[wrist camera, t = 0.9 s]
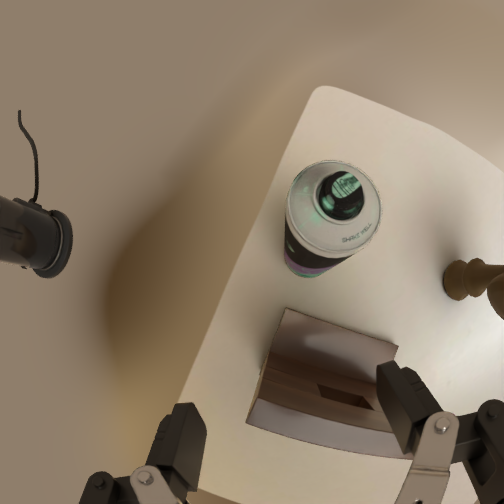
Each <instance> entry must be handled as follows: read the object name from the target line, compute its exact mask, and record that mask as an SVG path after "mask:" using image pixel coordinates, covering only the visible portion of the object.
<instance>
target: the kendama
mask: <svg viewBox="0 0 504 504" xmlns="http://www.w3.org/2000/svg"><path fill="white" fill-rule="evenodd" d="M444 286H445V289H446V291H447V293H448V295H449V296H450V297H451V298H452V299H454V300H457V301H460V300H462V299H464V298H465V297H466V296H467V295H468V294H469V295H470V296H473V297H478V296H480V295H481V294H482V293H483V292H484V291H485V290H486V288H487V296H488V298H489V301H490V303H491V306H492V307H493V309H494V310H495V311H496V313H497V314H498V315H499V316H500V317H501V318H502V319H503V320H504V265H488V264H485V263H484V262H483V261H482V260H481V259H479V258H475V259H472V260H471V261H470V262H469V263H468V264H467V263H466V262H464V261H462V260H457V261H454V262H452V263H451V264H450V265H449V266H448V268H447V270H446V272H445V276H444Z"/></svg>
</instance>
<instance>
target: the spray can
mask: <svg viewBox="0 0 504 504" xmlns="http://www.w3.org/2000/svg"><path fill="white" fill-rule="evenodd" d="M381 218H382V202H381V198H380V194H379V192H378V190H377V188H376V186H375V184H374V183H373V181H372V180H371V179H370V178H369V177H368V176H367V175H366V174H365V173H364V172H363V171H361V170H360V169H359V168H357V167H355V166H353V165H351V164H349V163H346V162H342V161H336V160H326V161H320V162H317V163H314V164H312V165H310V166H308V167H306V168H305V169H304V170H302V171H301V172H300V173H299V174H298V175H297V177H296V178H295V179H294V181H293V183H292V185H291V187H290V189H289V191H288V195H287V198H286V208H285V247H284V256H285V261H286V263H287V265H288V267H289V268H290V270H291V271H292V272H294V273H295V274H296V275H298V276H301V277H304V278H312V277H316V276H319V275H321V274H322V273H324V272H326V271H327V270H329V269H331V268H332V267H334V266H336V265H337V264H339V263H341V262H342V261H344V260H345V259H347V258H349V257H350V256H352V255H353V254H355V253H357V252H358V251H360V250H361V249H363V248H364V247H365V246H366V245H367V244H368V243H369V242H370V241H371V240H372V238H373V237H374V235H375V234H376V232H377V231H378V228H379V226H380V223H381Z"/></svg>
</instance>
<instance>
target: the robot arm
mask: <svg viewBox="0 0 504 504" xmlns="http://www.w3.org/2000/svg"><path fill="white" fill-rule="evenodd" d="M18 122H19V127H20V129H21V130H22V132H23V133H24V135H25V136H26V138H27V139H28V140H29V142H30V144H31V147H32V150H33V155H34V168H35V191H34V196H33V198H31V199H30V200H29V202H26V201H23V200H21V199H19V198H14V199H13V200H9V199H7V198H5V197H2V196H0V262H3V263H8V264H13V265H19V266H21V267H22V268H24V269H27V268H26V267H30V268H36V269H39V270H44V271H46V270H49V269H51V268H52V267H53V266H54V265H55V264H56V263H57V261H58V260H59V258H60V255H61V253H62V249H63V244H64V231H63V227H62V224H61V222H60V221H59V220H58V219H57V218H56V217H54V216H53V213H52V212H50V211H47V210H44V209H42V206H41V205H39V204H37V203H35V202H36V201H37V198H38V192H39V170H38V155H37V150H36V146H35V144H34V141H33V139H32V138H31V137H30V135H29V134H28V132H27V131H26V129H25V128H24V127H23V125H22V122H21V110H19V111H18ZM376 394H377V398H378V401H379V403H380V405H381V408H382V410H383V412H384V414H385V416H386V418H387V420H388V422H389V424H390V426H391V429H392V431H393V433H394V435H395V437H396V439H397V442H398V444H399V446H400V448H401V450H402V453H403V455H406V454H408V453H410V452H412V455H413V457H414V459H413V462H412V464H411V467H410V469H409V472H408V474H407V477H406V479H405V481H404V484H403V486H402V488H401V491H400V493H399V495H398V497H397V499H396V501H395V503H394V504H441V502H442V499H443V496H444V493H445V490H446V487H447V484H448V481H449V477H450V471H449V468H450V464H453V463H457V462H461V461H462V463H463V465H464V467H465V469H466V471H467V473H468V476H469V478H470V480H471V482H472V485H473V487H474V489H475V492H476V494H477V496H478V499H479V501H480V504H504V403H503V402H502V401H500V400H496V399H492V400H488V401H486V402H484V403H483V404H482V405H481V406H480V408H479V410H478V412H475V413H471V414H467V415H462V416H455V415H454V414H453V413H450V412H446V411H443V409H442V408H441V407H440V405H439V404H438V402H437V401H436V400H435V398H434V397H433V395H432V394H431V392H430V391H429V390H428V388H427V387H426V385H425V384H424V382H423V381H421V378H420V377H419V376H418V374H417V373H416V372H415V371H413V370H412V369H410V368H408V367H404V368H402V369H400V368H399V366H398V365H397V363H396V362H395V361H394V360H391V361H388V362H385V363H382V364H379V365H377V367H376ZM206 436H207V430H206V425H205V423H204V421H203V419H202V418H201V416H200V414H199V412H198V410H197V408H196V407H195V405H194V404H193V403H192V402H191V403H177V404H175V406H174V408H173V411H172V414H170V415H166V416H165V418H164V419H163V420H162V421H161V422H160V424H159V427H158V430H157V433H156V436H155V440H154V441H153V444H152V447H151V450H150V453H149V455H148V458H147V461H146V464H145V466H141V467H139V468H137V469H136V470H135V471H134V472H133V473H132V475H131V476H126V477H119V478H113V477H112V476H111V475H110V474H109V473H107V472H103V471H101V472H96V473H94V474H93V475H91V476H90V477H89V479H88V481H87V483H86V486H85V489H84V491H83V494H82V496H81V499H80V502H79V504H191V503H190V501H189V500H188V499H187V498H186V497H187V492H188V491H193V492H197V487H198V481H199V476H200V470H201V464H202V459H203V453H204V447H205V442H206Z"/></svg>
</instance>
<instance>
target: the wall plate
mask: <svg viewBox="0 0 504 504" xmlns="http://www.w3.org/2000/svg"><path fill="white" fill-rule="evenodd" d="M398 347H399V346H397V345H395V344H392V343H389V342H386V341H382V340H379V339H376V338H373V337H370V336H367V335H364V334H361V333H358V332H355V331H352V330H349V329H346V328H343V327H340V326H337V325H334V324H331V323H328V322H325V321H322V320H320V319H317V318H314V317H311V316H308V315H305V314H303V313H300V312H297V311H294V310H291V309H289V308H285V311H284V314H283V316H282V319H281V321H280V324H279V327H278V329H277V332H276V334H275V337H274V339H273V342H272V344H271V347H270V349H269V352H268V354H267V356H266V359H265V361H264V364H263V366H262V369H261V371H260V374H259V375H260V377H259V380H258V384H257V387H256V390H255V393H254V397H253V400H252V403H251V406H250V409H249V412H248V416H247V419H246V423H247V424H249V425H252V426H255V427H258V428H261V429H264V430H267V431H270V432H273V433H276V434H280V435H283V436H286V437H290V438H293V439H297V440H300V441H304V442H308V443H312V444H316V445H320V446H324V447H329V448H333V449H338V450H343V451H348V452H354V453H360V454H366V455H372V456H380V457H388V458H397V459H408V460H413V459H414V457H413V455H412V452H410V453H408V454H406V455H403V453H402V450H401V448H400V446H399V444H398V442H397V439H396V437H395V435H394V433H393V431H392V429H391V426H390V424H389V422H388V420H387V418H386V416H385V414H384V412H383V410H382V408H381V405H380V403H379V401H378V398H377V394H376V367H377V365H379V364H382V363H385V362H388V361H391V360H393V359H394V357H395V354H396V352H397V349H398Z"/></svg>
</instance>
